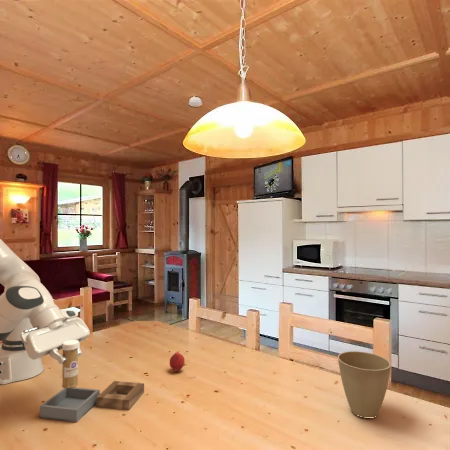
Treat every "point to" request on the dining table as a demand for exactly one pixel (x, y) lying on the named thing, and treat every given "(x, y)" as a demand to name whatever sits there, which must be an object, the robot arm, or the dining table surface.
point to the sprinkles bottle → (70, 364)
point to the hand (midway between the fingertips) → (71, 358)
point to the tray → (69, 404)
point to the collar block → (118, 401)
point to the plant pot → (364, 381)
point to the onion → (177, 361)
